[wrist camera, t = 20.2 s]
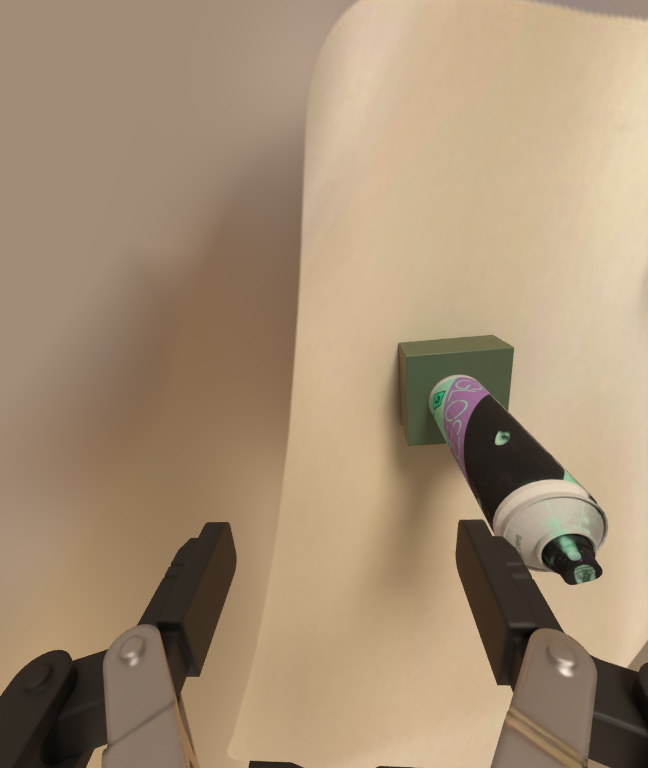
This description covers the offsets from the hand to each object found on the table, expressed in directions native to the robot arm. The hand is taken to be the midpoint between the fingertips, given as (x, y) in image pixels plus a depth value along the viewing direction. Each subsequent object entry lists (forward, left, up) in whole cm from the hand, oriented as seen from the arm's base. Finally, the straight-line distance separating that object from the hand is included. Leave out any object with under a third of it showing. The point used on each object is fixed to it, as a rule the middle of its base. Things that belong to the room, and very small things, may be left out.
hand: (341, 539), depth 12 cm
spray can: (+12, +3, -23) cm, 26 cm away
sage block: (+12, +3, -28) cm, 31 cm away
